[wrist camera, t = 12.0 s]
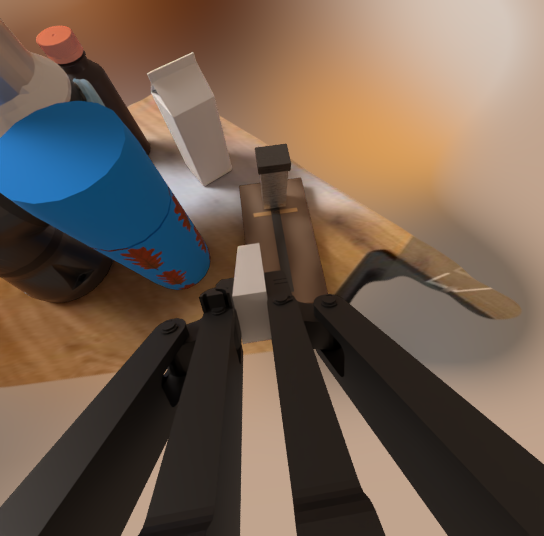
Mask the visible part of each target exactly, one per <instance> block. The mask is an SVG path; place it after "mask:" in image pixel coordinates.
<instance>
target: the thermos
mask: <svg viewBox="0 0 544 536" xmlns="http://www.w3.org/2000/svg"><path fill="white" fill-rule="evenodd" d="M0 193H1V194H3V195H4V196H6V197H7V198H8V199H10V200H11V201H13V202H14V203H15V204H17V205H18V206H20V207H21V208H23V209H24V210H26V211H27V212H29V213H30V214H32V215H33V216H35V217H37V218H39V219H40V220H42V221H44V222H46V223H48V224H49V225H51V226H53V227H55V228H57V229H59V230H60V231H62V232H64V233H66V234H68V235H69V236H71V237H73V238H75V239H77V240H78V241H80V242H82V243H84V244H86V245H87V246H89V247H91V248H93V249H95V250H97V251H98V252H100V253H102V254H104V255H106V256H107V257H109V258H111V259H113V260H115V261H116V262H118V263H120V264H122V265H124V266H125V267H127V268H129V269H131V270H133V271H135V272H136V273H138V274H140V275H142V276H144V277H145V278H147V279H149V280H151V281H153V282H154V283H156V284H159V285H161V286H164V287H166V288H169V289H175V290H180V289H187V288H189V287H191V286H193V285H195V284H197V283H198V282H199V281H200V280H201V279H202V278H203V277H204V276H205V275H206V273H207V271H208V269H209V266H210V258H211V257H210V254H209V250H208V247H207V246H206V244H205V242H204V240H203V238H202V237H201V235H200V234H199V232H198V231H197V229H196V227H195V226H194V224H193V223H192V221H191V220H190V218H189V217H188V215H187V214H186V212H185V211H184V209H183V208H182V206H181V205H180V203H179V202H178V200H177V199H176V197H175V196H174V194H173V193H172V191H171V190H170V188H169V187H168V186H167V184H166V182H165V181H164V179H163V178H162V176H161V175H160V173H159V172H158V170H157V169H156V167H155V166H154V164H153V163H152V161H151V160H150V158H149V157H148V155H147V154H146V152H145V151H144V149H143V148H142V146H141V145H140V143H139V142H138V140H137V139H136V138H135V136H134V135H133V134H132V133H131V131H130V130H129V129H128V128H127V126H126V125H125V124H124V123H123V122H122V121H121V119H120V118H119V117H118V116H117V115H116V113H115V112H114V111H113V110H111V109H109V108H107V107H105V106H103V105H101V104H99V103H93V102H85V101H71V102H63V103H56V104H53V105H50V106H48V107H45V108H42V109H39V110H36V111H34V112H33V113H31V114H29V115H28V116H26V117H24V118H23V119H21V120H19V121H18V122H16V123H15V124H14V125H13V126H12V127H11V128H10V129H9V130H8V131H7V132H6V133H5V134H4V135H3V136H2V137H1V138H0Z"/></svg>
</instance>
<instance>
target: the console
mask: <svg viewBox="0 0 544 536" xmlns="http://www.w3.org/2000/svg"><path fill="white" fill-rule="evenodd" d="M239 189H240V198H241V207H242V216H243V225H244V233H245V242H246V245H249V244H256V243H259V245H260V252H261V258H262V265H263V271H264V273H265V272H271V271H278V270H281V271H282V272H284V273H285V275H286V278H287V281H288V284H289V287H290V290H291V293H292V295H293V296H294V297H295V298H296V300H297V301H299V302H303V303H314V299H315V298H316V297H318V296H320V295H325V294H328V292H327V288H326V283H325V279H324V275H323V270H322V266H321V262H320V257H319V253H318V249H317V244H316V240H315V236H314V231H313V227H312V223H311V218H310V214H309V210H308V205H307V201H306V197H305V192H304V188H303V184H302V179H301V178H295V179H287V196H286V206H285V207H278V208H270V209H264V206H263V200H262V192H261V183H257V184H249V185H241V186H239Z"/></svg>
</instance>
